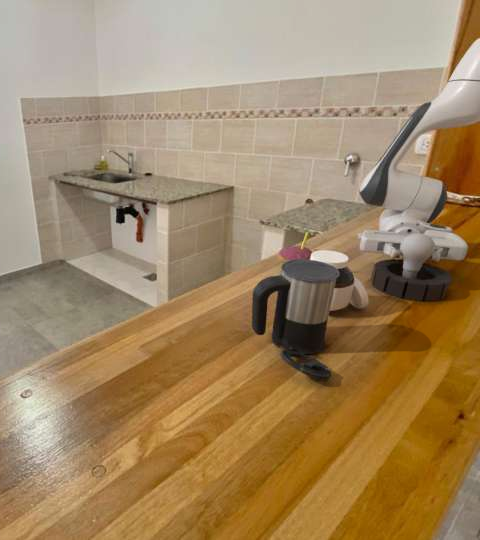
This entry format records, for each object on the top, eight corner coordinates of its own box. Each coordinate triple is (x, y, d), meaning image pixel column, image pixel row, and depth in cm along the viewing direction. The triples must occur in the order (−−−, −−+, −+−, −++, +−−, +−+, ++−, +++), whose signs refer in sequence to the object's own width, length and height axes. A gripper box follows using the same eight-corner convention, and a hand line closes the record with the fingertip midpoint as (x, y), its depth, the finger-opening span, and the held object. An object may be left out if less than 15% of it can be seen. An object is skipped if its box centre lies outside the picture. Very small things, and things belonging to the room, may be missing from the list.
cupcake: (313, 269, 99) (321, 225, 94) (310, 282, 92) (317, 236, 87) (278, 264, 103) (284, 221, 98) (272, 276, 97) (278, 231, 92)
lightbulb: (398, 284, 85) (410, 238, 81) (387, 273, 91) (399, 229, 86) (429, 286, 84) (444, 239, 79) (417, 274, 89) (430, 229, 85)
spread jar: (288, 301, 85) (295, 252, 80) (322, 288, 89) (331, 241, 85) (338, 326, 75) (350, 272, 70) (374, 310, 80) (387, 258, 75)
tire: (436, 278, 91) (441, 263, 89) (453, 306, 79) (459, 288, 78) (368, 270, 96) (371, 256, 95) (374, 295, 85) (378, 279, 83)
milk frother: (298, 322, 77) (309, 254, 71) (371, 368, 63) (391, 289, 57) (240, 340, 73) (246, 270, 66) (304, 393, 59) (319, 311, 53)
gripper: (359, 221, 98) (364, 238, 87) (459, 227, 90) (479, 248, 79) (354, 244, 101) (358, 264, 90) (451, 252, 92) (469, 275, 81)
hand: (416, 256), depth 84 cm, fingers closed on lightbulb, 6 cm apart
